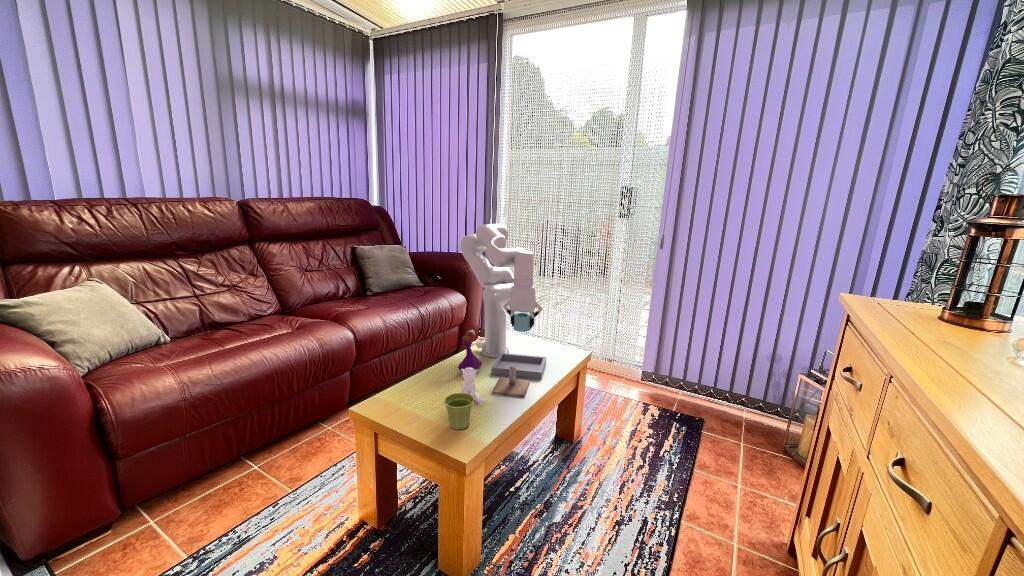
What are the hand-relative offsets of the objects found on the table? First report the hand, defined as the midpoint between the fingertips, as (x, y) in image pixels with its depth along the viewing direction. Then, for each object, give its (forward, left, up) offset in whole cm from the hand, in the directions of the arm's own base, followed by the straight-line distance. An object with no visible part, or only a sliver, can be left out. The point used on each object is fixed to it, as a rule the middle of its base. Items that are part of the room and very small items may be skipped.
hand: (522, 325), depth 166 cm
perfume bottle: (-20, -6, -20) cm, 29 cm away
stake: (-1, -16, -19) cm, 25 cm away
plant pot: (-12, -44, -20) cm, 50 cm away
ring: (0, 0, -1) cm, 1 cm away
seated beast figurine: (-14, -28, -20) cm, 37 cm away
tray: (-1, +2, -19) cm, 20 cm away
